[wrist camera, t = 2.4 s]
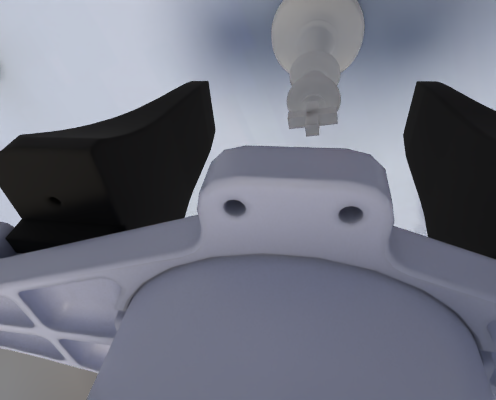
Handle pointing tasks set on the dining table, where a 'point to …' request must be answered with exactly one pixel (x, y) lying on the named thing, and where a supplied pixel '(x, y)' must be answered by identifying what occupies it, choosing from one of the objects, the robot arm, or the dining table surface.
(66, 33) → the dining table surface
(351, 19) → the chess piece
